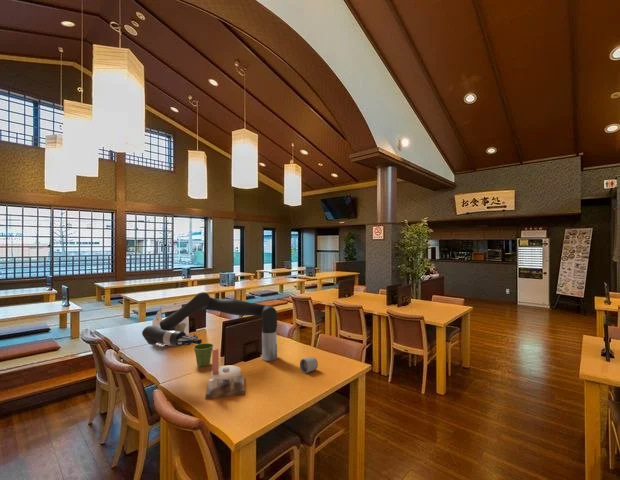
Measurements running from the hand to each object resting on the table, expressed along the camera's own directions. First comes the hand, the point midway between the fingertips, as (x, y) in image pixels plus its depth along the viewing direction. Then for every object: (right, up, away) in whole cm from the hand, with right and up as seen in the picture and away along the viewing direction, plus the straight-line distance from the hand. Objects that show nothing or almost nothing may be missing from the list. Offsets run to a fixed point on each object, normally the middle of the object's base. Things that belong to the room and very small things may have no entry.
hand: (200, 341), depth 155 cm
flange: (+13, -20, 0) cm, 24 cm away
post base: (+13, -23, 0) cm, 27 cm away
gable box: (-50, -26, +78) cm, 96 cm away
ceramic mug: (+54, -24, +21) cm, 63 cm away
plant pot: (-9, -25, +31) cm, 41 cm away
